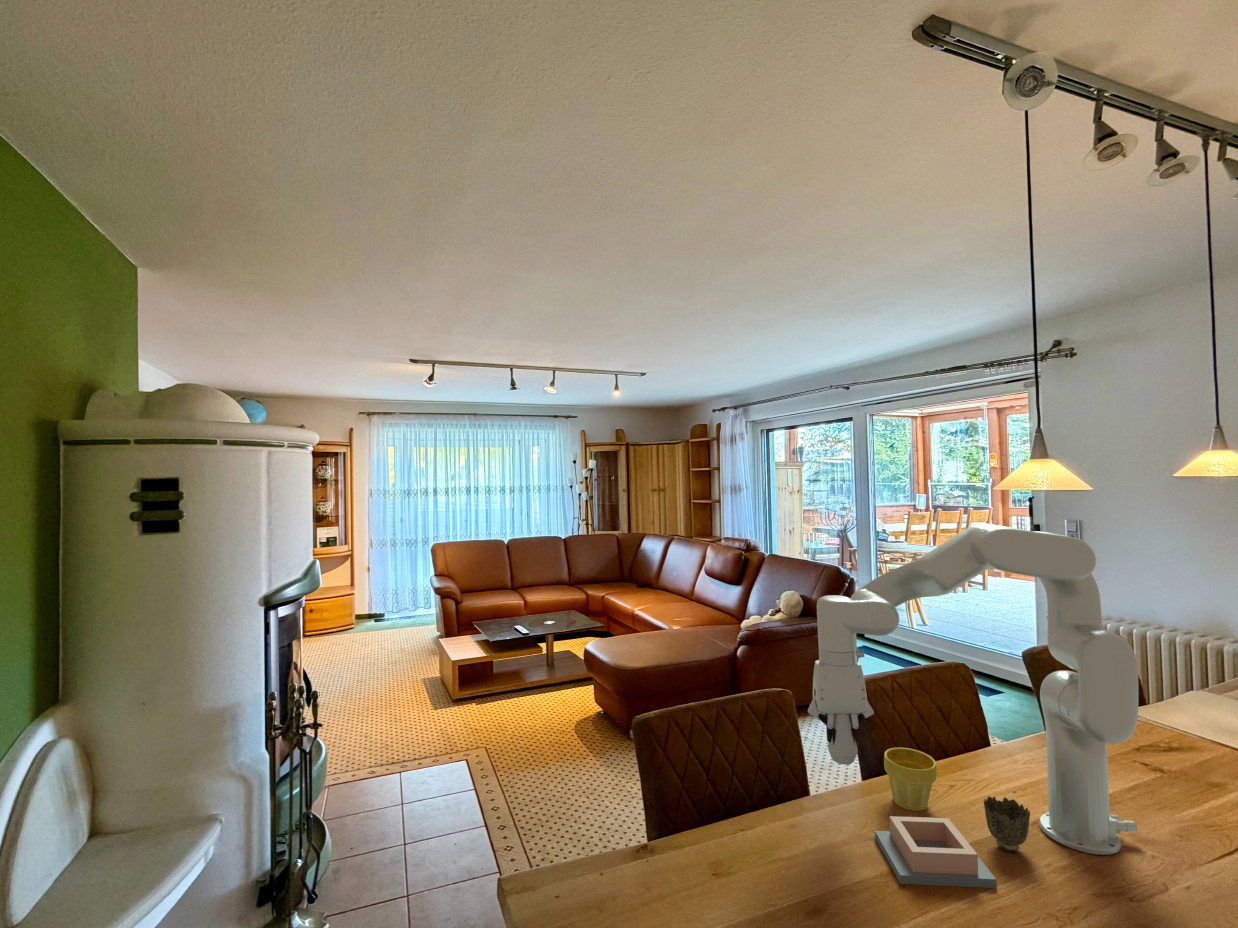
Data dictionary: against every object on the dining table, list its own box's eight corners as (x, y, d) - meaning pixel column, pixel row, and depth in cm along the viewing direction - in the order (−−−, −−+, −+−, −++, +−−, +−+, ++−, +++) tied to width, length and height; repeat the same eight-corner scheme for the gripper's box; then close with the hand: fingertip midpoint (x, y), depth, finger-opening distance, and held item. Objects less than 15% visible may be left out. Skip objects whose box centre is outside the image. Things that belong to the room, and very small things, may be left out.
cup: (1024, 840, 115) (1023, 798, 115) (1037, 864, 108) (1035, 819, 108) (980, 833, 117) (979, 792, 118) (990, 856, 110) (989, 812, 111)
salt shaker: (860, 767, 119) (857, 702, 119) (830, 765, 120) (827, 701, 120) (855, 754, 125) (852, 692, 125) (826, 752, 126) (823, 691, 126)
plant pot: (949, 810, 126) (947, 764, 126) (911, 820, 122) (910, 773, 122) (909, 786, 135) (908, 743, 136) (874, 795, 132) (873, 751, 132)
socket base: (960, 841, 115) (959, 815, 115) (996, 887, 102) (995, 858, 102) (875, 838, 116) (874, 812, 116) (900, 883, 103) (899, 854, 104)
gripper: (872, 650, 126) (876, 737, 126) (794, 651, 127) (798, 737, 127) (885, 661, 119) (889, 754, 118) (801, 662, 120) (805, 753, 120)
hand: (842, 744), depth 123 cm, fingers closed on salt shaker, 3 cm apart
